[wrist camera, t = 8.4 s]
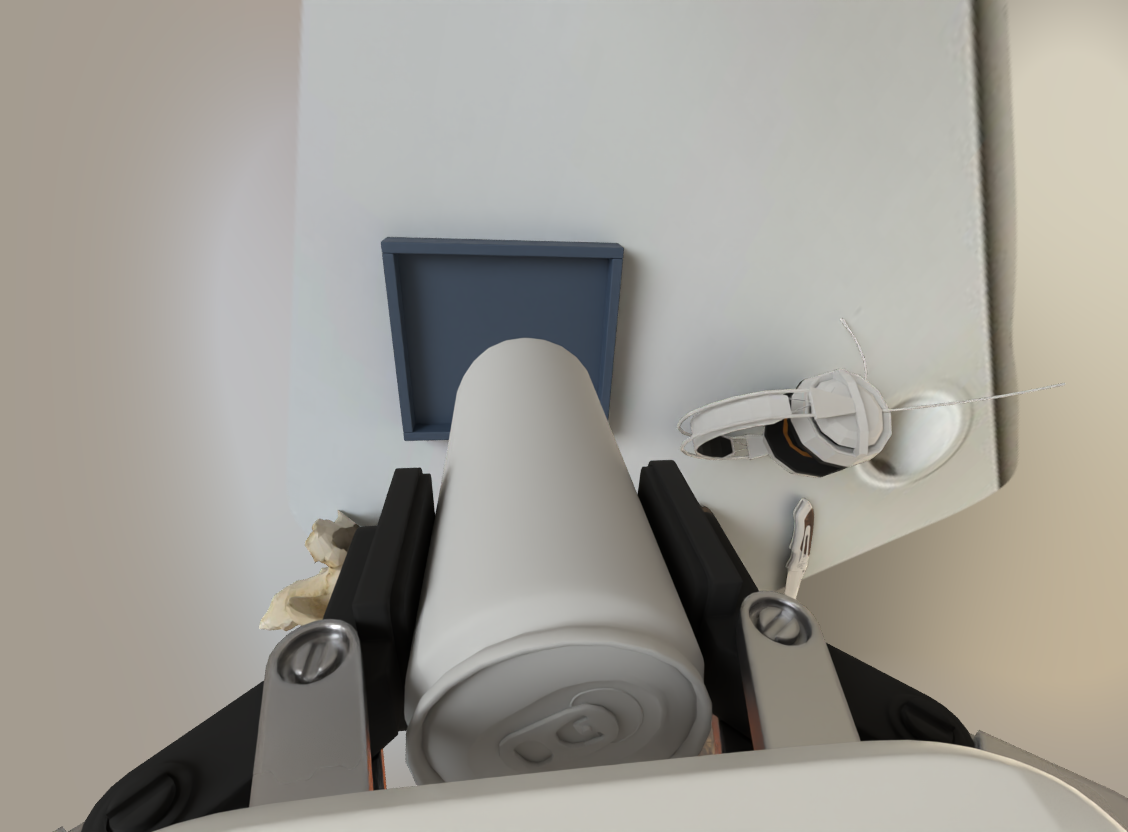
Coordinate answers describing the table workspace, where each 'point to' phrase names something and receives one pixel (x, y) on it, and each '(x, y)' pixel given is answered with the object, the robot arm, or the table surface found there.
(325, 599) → the decorative object
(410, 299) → the tray
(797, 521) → the pocket knife
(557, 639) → the beverage can
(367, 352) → the table surface
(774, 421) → the headphones
